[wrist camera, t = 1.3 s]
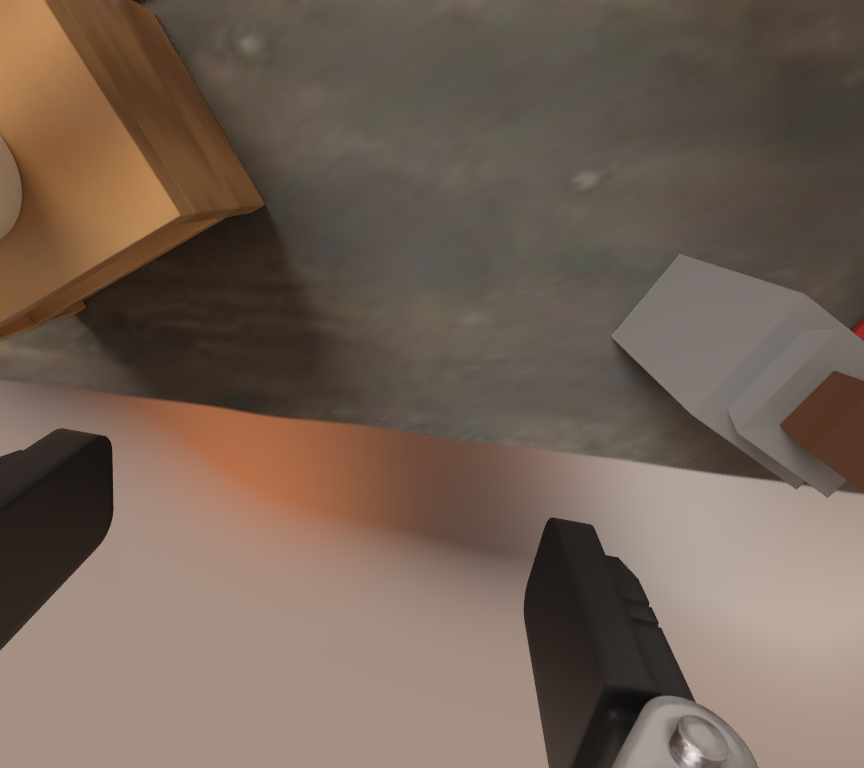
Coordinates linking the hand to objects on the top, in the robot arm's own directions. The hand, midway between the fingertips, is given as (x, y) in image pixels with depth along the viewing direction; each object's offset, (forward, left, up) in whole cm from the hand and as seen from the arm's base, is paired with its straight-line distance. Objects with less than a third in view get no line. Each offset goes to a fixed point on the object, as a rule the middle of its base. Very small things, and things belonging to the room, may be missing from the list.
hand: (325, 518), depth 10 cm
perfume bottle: (+6, +17, -29) cm, 34 cm away
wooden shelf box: (-8, -19, -29) cm, 35 cm away
